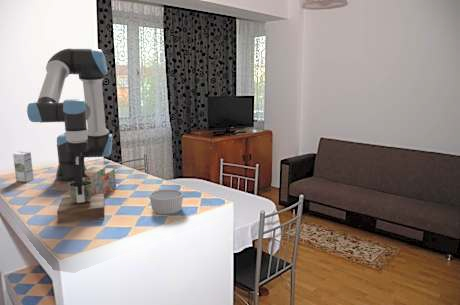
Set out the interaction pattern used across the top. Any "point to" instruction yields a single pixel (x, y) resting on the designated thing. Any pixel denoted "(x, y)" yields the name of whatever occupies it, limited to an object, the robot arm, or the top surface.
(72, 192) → the vessel
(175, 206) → the ramekin
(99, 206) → the walnut block
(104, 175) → the stack of blocks
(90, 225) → the top surface
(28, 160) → the syrup box
